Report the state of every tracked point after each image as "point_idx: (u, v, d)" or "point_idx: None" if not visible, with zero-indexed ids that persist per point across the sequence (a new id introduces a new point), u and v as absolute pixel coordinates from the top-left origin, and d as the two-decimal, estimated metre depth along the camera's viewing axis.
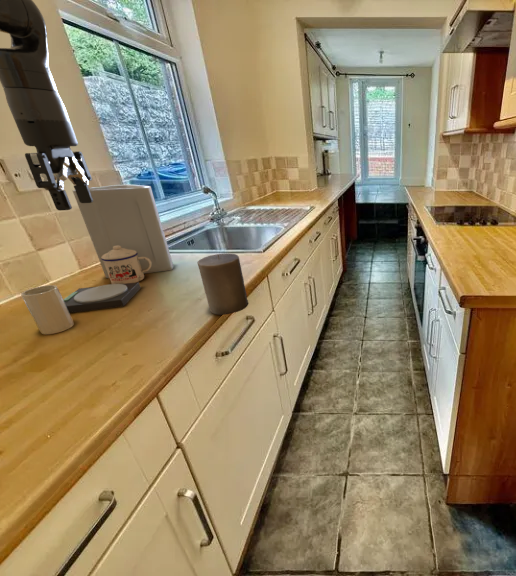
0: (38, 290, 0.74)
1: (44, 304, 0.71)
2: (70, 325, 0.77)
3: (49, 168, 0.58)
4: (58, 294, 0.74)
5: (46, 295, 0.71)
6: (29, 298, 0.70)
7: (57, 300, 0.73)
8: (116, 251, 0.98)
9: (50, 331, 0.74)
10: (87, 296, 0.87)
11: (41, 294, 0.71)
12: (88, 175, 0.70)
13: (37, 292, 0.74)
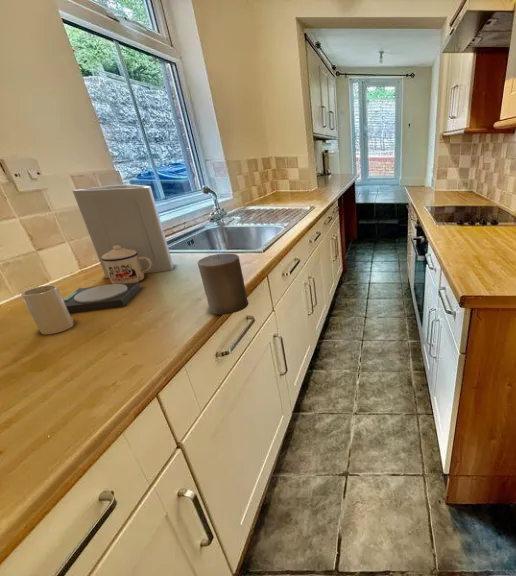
0: (38, 290, 0.74)
1: (44, 304, 0.71)
2: (70, 325, 0.77)
3: None
4: (58, 294, 0.74)
5: (46, 295, 0.71)
6: (29, 298, 0.70)
7: (57, 300, 0.73)
8: (116, 251, 0.98)
9: (50, 331, 0.74)
10: (87, 296, 0.87)
11: (41, 294, 0.71)
12: None
13: (37, 292, 0.74)
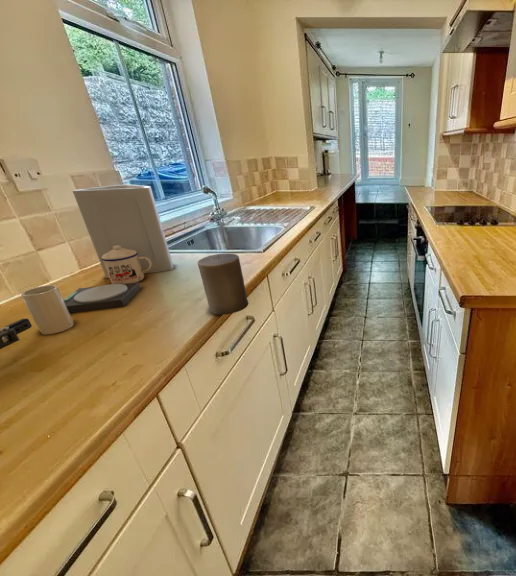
0: (38, 290, 0.74)
1: (44, 304, 0.71)
2: (70, 325, 0.77)
3: None
4: (58, 294, 0.74)
5: (46, 295, 0.71)
6: (29, 298, 0.70)
7: (57, 300, 0.73)
8: (116, 251, 0.98)
9: (50, 331, 0.74)
10: (87, 296, 0.87)
11: (41, 294, 0.71)
12: None
13: (37, 292, 0.74)
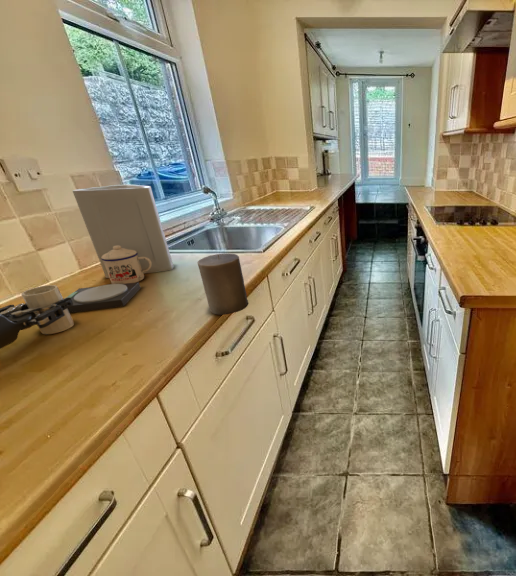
0: (38, 290, 0.74)
1: (44, 304, 0.71)
2: (70, 325, 0.77)
3: None
4: (58, 294, 0.74)
5: (47, 295, 0.71)
6: (29, 298, 0.70)
7: (57, 300, 0.73)
8: (116, 251, 0.98)
9: (50, 331, 0.74)
10: (87, 296, 0.87)
11: (42, 293, 0.71)
12: None
13: (37, 292, 0.74)
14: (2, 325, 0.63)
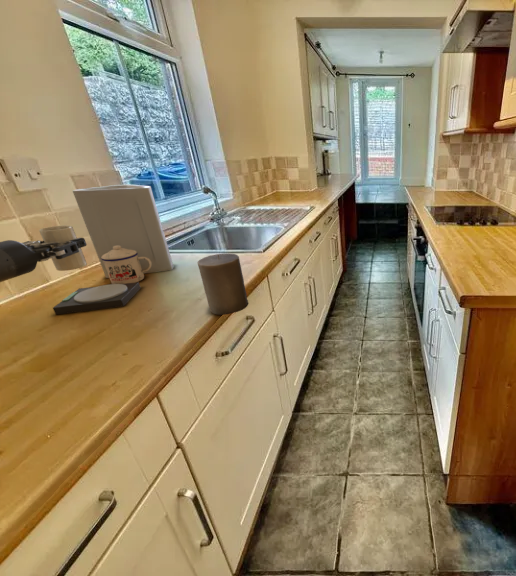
0: (54, 229, 0.79)
1: (60, 240, 0.76)
2: (84, 264, 0.81)
3: None
4: (73, 233, 0.79)
5: (62, 232, 0.76)
6: (46, 234, 0.75)
7: (72, 238, 0.78)
8: (116, 251, 0.98)
9: (65, 268, 0.78)
10: (87, 296, 0.87)
11: (58, 230, 0.75)
12: None
13: None
14: (23, 252, 0.67)
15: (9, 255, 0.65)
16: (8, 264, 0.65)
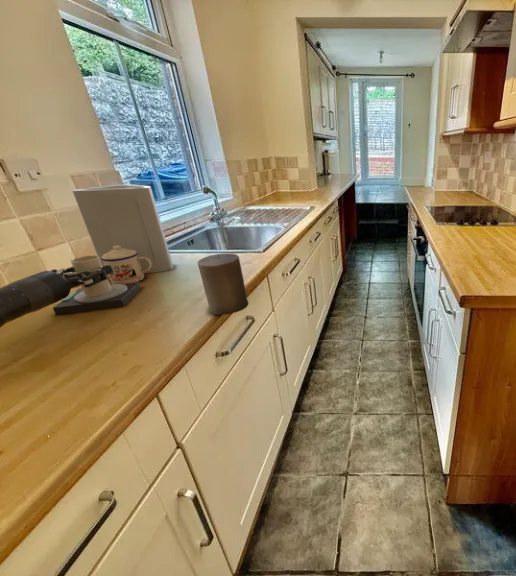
0: (83, 259, 0.87)
1: (89, 270, 0.84)
2: (109, 290, 0.89)
3: None
4: (100, 262, 0.87)
5: (91, 262, 0.84)
6: (77, 264, 0.83)
7: (99, 267, 0.86)
8: (116, 251, 0.98)
9: (93, 294, 0.86)
10: (87, 296, 0.87)
11: (88, 261, 0.83)
12: None
13: (82, 261, 0.87)
14: (59, 281, 0.75)
15: (48, 285, 0.73)
16: (47, 293, 0.73)
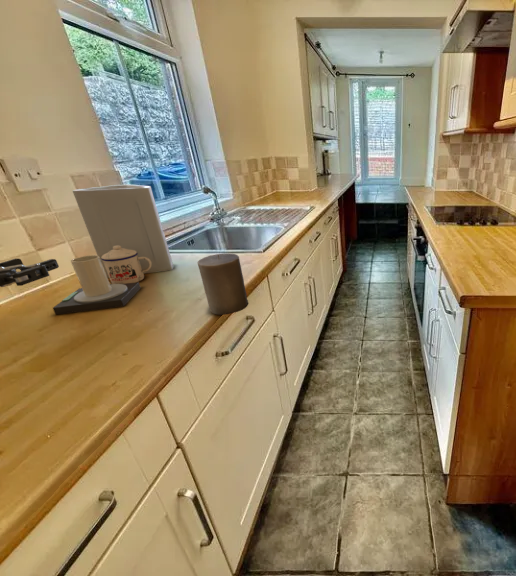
0: (83, 259, 0.87)
1: (89, 270, 0.84)
2: (109, 290, 0.89)
3: None
4: (100, 262, 0.87)
5: (91, 262, 0.84)
6: (77, 264, 0.83)
7: (99, 267, 0.86)
8: (116, 251, 0.98)
9: (93, 294, 0.86)
10: (87, 296, 0.87)
11: (88, 261, 0.83)
12: None
13: (82, 261, 0.87)
14: None
15: None
16: None
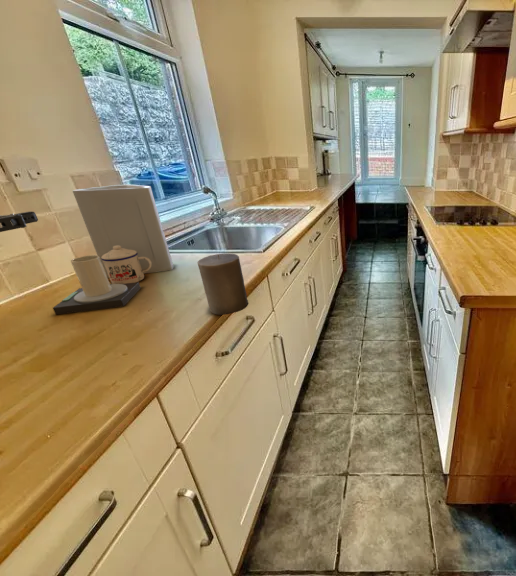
0: (83, 259, 0.87)
1: (89, 270, 0.84)
2: (109, 290, 0.89)
3: None
4: (100, 262, 0.87)
5: (91, 262, 0.84)
6: (77, 264, 0.83)
7: (99, 267, 0.86)
8: (116, 251, 0.98)
9: (93, 294, 0.86)
10: (87, 296, 0.87)
11: (88, 261, 0.83)
12: None
13: (82, 261, 0.87)
14: None
15: None
16: None
